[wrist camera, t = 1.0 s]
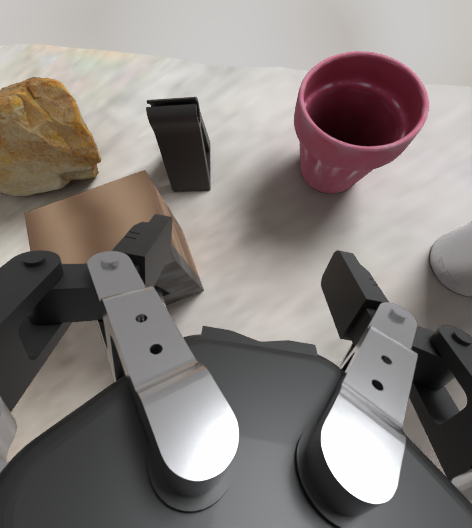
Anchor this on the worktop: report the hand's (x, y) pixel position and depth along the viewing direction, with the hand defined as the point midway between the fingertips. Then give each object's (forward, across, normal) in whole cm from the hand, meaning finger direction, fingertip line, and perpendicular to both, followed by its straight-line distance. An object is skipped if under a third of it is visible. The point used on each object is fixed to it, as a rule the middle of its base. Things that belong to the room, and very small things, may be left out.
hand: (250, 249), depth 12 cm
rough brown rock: (+34, +31, +9) cm, 47 cm away
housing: (+18, +10, +18) cm, 28 cm away
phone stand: (+32, +8, +6) cm, 34 cm away
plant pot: (+32, -13, +1) cm, 35 cm away
